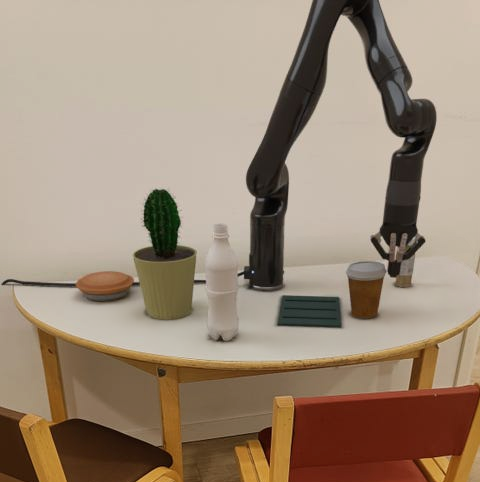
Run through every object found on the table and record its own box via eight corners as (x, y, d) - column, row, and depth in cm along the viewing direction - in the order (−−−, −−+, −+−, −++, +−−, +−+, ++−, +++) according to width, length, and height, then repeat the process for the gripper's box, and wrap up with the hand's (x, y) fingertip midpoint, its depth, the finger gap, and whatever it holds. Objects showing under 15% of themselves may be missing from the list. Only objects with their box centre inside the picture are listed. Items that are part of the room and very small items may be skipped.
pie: (65, 300, 160) (62, 281, 157) (98, 282, 172) (96, 265, 170) (115, 307, 155) (113, 288, 152) (145, 288, 167) (143, 271, 165)
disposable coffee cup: (382, 306, 152) (384, 259, 146) (386, 320, 144) (388, 271, 138) (344, 307, 153) (345, 261, 147) (345, 321, 145) (346, 273, 139)
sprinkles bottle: (405, 281, 170) (411, 233, 163) (414, 286, 167) (421, 237, 160) (391, 283, 169) (397, 235, 162) (400, 288, 165) (407, 239, 158)
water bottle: (207, 331, 141) (202, 221, 128) (237, 330, 141) (236, 220, 128) (208, 343, 135) (203, 229, 121) (240, 342, 135) (239, 228, 122)
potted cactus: (211, 307, 154) (207, 183, 138) (173, 327, 143) (163, 194, 127) (165, 296, 161) (156, 178, 146) (126, 314, 151) (111, 188, 135)
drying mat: (277, 325, 143) (277, 321, 143) (282, 297, 160) (282, 294, 160) (340, 327, 142) (341, 324, 141) (338, 298, 159) (339, 295, 158)
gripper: (430, 197, 136) (419, 272, 146) (371, 197, 138) (363, 271, 147) (435, 204, 130) (423, 282, 139) (373, 203, 131) (365, 280, 141)
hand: (392, 276), depth 143 cm, fingers closed
